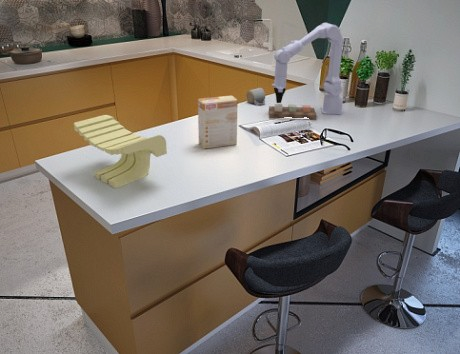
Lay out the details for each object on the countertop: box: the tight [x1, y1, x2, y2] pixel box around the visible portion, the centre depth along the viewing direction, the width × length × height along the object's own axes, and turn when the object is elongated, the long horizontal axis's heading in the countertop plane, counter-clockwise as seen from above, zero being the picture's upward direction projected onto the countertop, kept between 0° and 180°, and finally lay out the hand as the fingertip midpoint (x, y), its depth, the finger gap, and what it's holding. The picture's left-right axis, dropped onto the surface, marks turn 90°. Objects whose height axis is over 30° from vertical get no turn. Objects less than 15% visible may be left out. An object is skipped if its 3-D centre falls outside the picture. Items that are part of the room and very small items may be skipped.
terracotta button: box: [302, 104, 312, 113], centre depth 216 cm, size 4×4×3 cm
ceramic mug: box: [246, 87, 266, 106], centre depth 234 cm, size 11×8×8 cm
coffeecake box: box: [197, 95, 238, 150], centre depth 178 cm, size 15×7×20 cm, turn 111°
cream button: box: [274, 103, 284, 112], centre depth 217 cm, size 4×4×3 cm
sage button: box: [287, 104, 298, 112], centre depth 217 cm, size 4×4×3 cm
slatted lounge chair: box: [73, 114, 168, 189], centre depth 150 cm, size 30×16×18 cm, turn 48°
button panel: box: [268, 105, 318, 121], centre depth 218 cm, size 23×12×2 cm, turn 87°
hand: (278, 102), depth 216 cm, fingers closed
